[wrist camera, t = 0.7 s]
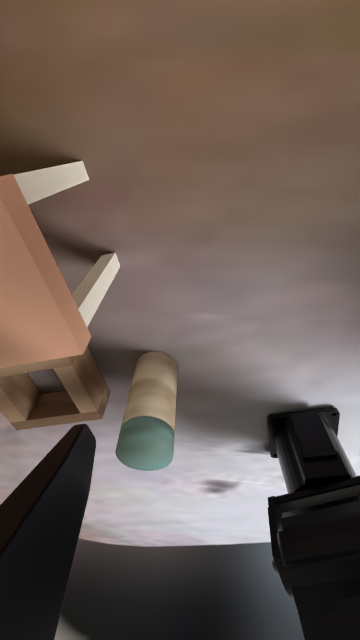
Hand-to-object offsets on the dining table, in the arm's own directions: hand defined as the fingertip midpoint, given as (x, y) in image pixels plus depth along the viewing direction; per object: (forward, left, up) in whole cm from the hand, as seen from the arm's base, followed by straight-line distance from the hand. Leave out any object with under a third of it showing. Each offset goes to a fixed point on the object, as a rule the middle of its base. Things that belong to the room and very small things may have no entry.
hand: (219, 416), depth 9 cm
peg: (-8, +6, -12) cm, 16 cm away
